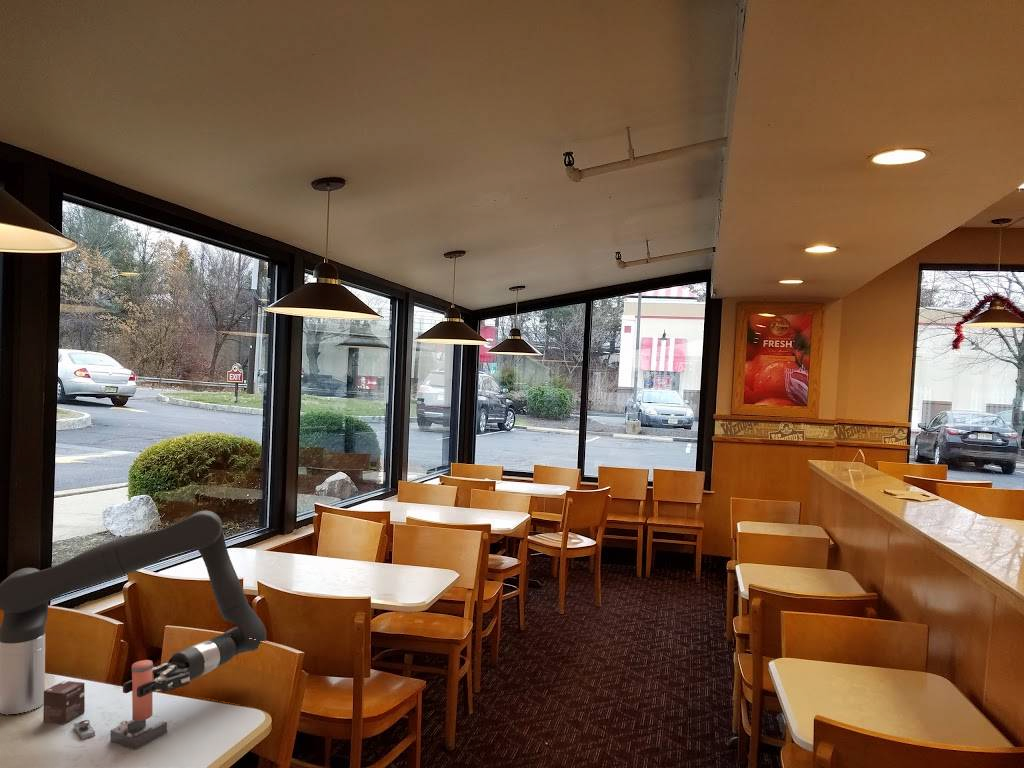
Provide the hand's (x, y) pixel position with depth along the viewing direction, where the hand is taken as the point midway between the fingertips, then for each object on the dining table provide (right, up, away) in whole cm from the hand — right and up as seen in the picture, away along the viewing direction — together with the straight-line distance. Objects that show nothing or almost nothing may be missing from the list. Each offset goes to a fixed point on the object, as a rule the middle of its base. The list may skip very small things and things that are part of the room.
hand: (131, 690), depth 152 cm
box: (-22, -11, +11) cm, 27 cm away
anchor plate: (-13, -11, +4) cm, 18 cm away
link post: (+1, -7, +3) cm, 8 cm away
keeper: (+1, -11, +2) cm, 12 cm away
